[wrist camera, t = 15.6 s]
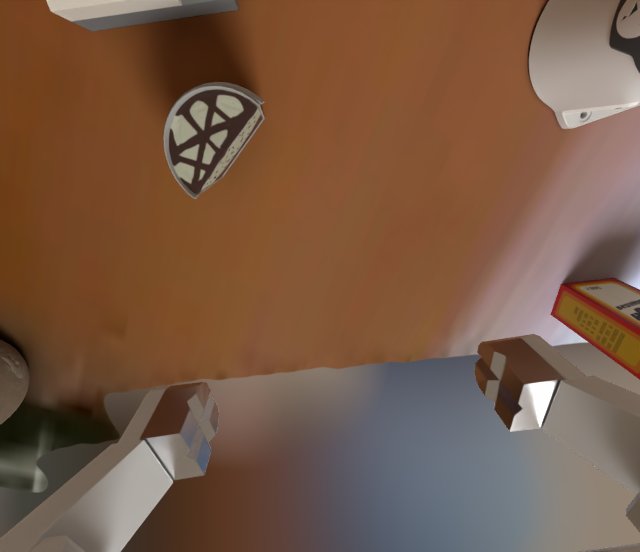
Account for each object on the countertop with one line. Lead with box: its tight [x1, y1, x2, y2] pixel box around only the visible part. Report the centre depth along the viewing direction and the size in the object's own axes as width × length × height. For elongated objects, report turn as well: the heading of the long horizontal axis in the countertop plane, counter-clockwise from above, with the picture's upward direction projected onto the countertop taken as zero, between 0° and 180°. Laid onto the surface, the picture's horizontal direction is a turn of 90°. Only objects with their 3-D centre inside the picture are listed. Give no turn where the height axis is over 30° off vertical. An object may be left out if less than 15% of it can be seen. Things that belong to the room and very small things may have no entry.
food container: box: [164, 82, 265, 199], centre depth 31 cm, size 12×6×10 cm, turn 138°
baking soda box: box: [551, 278, 640, 379], centre depth 43 cm, size 10×6×16 cm
